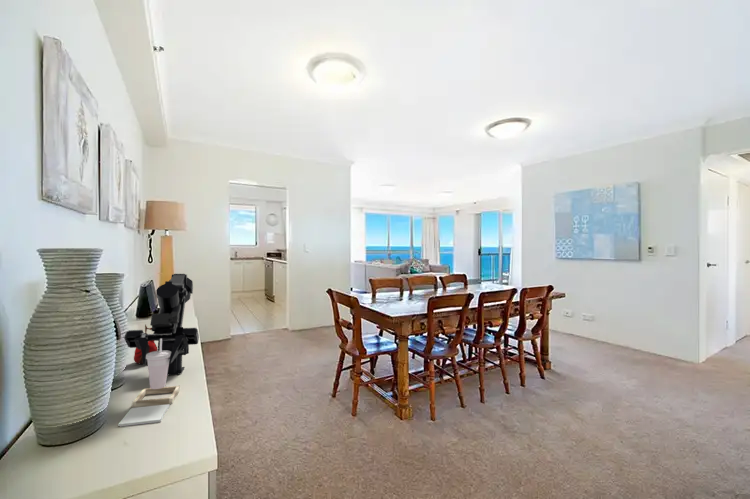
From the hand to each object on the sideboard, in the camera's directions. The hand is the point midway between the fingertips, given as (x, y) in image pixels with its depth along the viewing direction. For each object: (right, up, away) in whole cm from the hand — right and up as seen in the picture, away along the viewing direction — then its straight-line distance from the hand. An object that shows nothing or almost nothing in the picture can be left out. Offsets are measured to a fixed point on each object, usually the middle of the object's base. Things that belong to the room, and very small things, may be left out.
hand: (157, 363), depth 99 cm
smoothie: (-1, -7, +1) cm, 7 cm away
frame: (-1, -11, +1) cm, 11 cm away
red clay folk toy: (-25, -10, +32) cm, 42 cm away
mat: (+3, -10, -9) cm, 14 cm away
